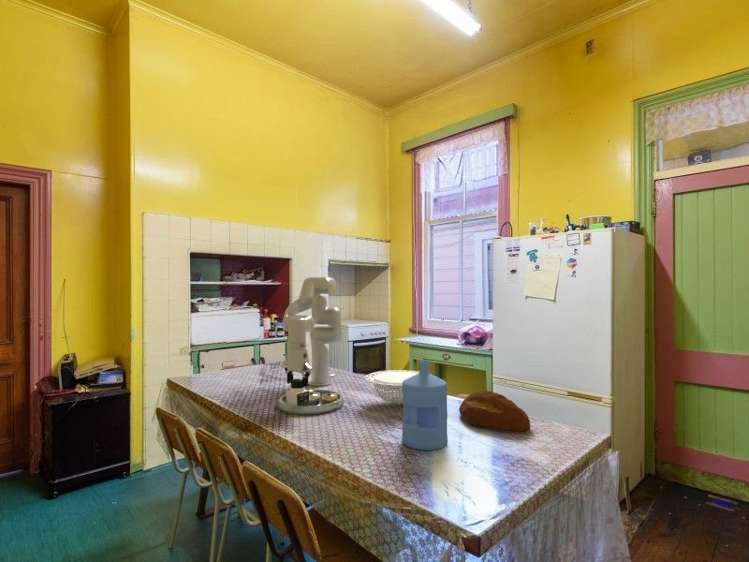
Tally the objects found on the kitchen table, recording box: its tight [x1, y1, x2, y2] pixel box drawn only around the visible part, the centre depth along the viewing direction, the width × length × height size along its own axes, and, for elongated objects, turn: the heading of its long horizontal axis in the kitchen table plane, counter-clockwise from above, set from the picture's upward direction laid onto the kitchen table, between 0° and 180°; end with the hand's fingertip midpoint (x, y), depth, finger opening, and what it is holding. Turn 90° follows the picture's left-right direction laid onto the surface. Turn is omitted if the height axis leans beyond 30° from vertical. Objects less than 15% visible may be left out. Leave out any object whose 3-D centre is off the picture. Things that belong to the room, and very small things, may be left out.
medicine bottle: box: [285, 378, 309, 406], centre depth 183 cm, size 7×7×12 cm
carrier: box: [278, 387, 344, 416], centre depth 189 cm, size 29×29×6 cm
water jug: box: [401, 360, 449, 451], centre depth 144 cm, size 16×16×28 cm
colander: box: [363, 369, 420, 406], centre depth 189 cm, size 32×32×13 cm
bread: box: [459, 390, 531, 434], centre depth 164 cm, size 21×33×12 cm, turn 31°
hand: (297, 384), depth 183 cm, fingers open, 9 cm apart
